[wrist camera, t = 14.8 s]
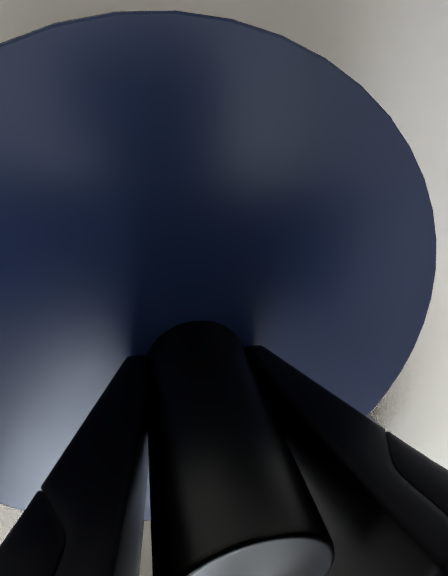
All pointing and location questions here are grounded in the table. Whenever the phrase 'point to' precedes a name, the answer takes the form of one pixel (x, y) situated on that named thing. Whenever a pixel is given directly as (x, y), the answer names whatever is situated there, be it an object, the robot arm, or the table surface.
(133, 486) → the robot arm
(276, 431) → the pot lid
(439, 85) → the table surface
